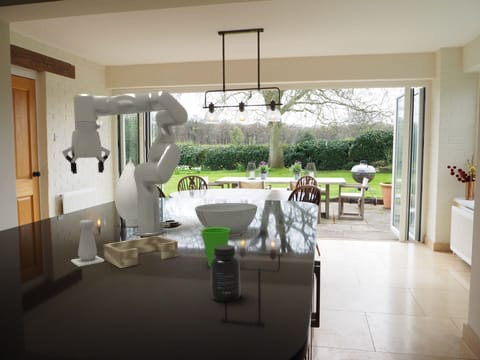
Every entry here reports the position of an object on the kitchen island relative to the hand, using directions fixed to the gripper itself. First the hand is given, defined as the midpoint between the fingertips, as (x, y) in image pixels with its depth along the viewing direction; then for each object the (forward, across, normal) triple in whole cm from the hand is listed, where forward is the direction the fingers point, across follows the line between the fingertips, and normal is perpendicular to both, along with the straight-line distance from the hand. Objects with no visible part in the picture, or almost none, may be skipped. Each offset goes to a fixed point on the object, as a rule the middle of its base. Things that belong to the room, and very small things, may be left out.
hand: (88, 173), depth 142 cm
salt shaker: (+28, +8, +21) cm, 36 cm away
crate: (+28, -7, +29) cm, 41 cm away
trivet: (+28, +8, +21) cm, 36 cm away
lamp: (+28, -31, -33) cm, 54 cm away
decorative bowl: (+28, -51, +19) cm, 61 cm away
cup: (+28, -20, +54) cm, 64 cm away
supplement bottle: (+28, -6, +77) cm, 82 cm away
